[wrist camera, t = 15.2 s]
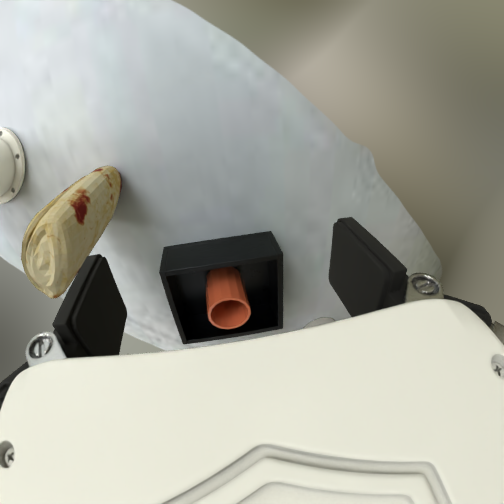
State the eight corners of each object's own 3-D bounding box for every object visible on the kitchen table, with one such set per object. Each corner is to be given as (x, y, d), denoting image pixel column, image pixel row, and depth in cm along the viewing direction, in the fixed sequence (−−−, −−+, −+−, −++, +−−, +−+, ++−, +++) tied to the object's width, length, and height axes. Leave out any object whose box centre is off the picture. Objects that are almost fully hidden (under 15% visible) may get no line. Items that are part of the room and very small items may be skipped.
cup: (208, 297, 46) (211, 331, 39) (202, 268, 43) (204, 301, 36) (243, 292, 47) (252, 325, 40) (240, 262, 44) (249, 294, 37)
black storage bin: (183, 316, 49) (183, 344, 43) (163, 246, 41) (159, 272, 35) (273, 302, 50) (282, 328, 45) (271, 230, 43) (283, 253, 37)
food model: (115, 226, 38) (69, 320, 21) (77, 210, 35) (12, 293, 18) (137, 166, 34) (85, 230, 17) (96, 149, 31) (16, 200, 15)
